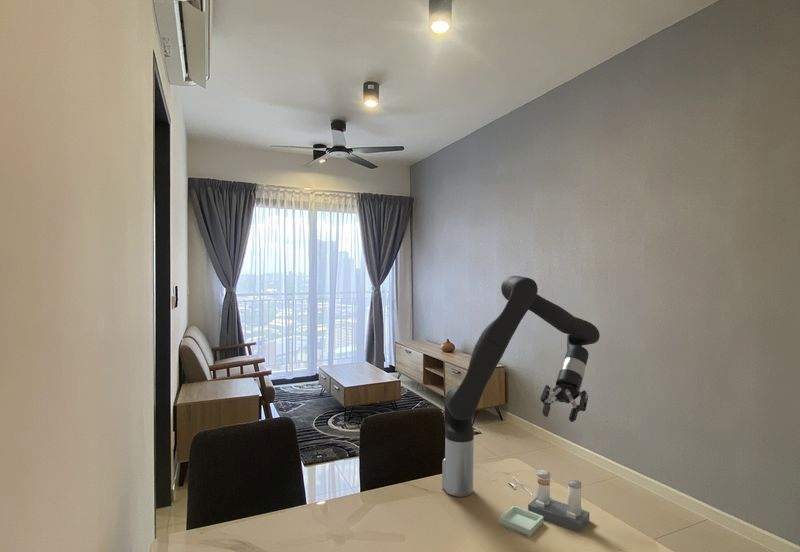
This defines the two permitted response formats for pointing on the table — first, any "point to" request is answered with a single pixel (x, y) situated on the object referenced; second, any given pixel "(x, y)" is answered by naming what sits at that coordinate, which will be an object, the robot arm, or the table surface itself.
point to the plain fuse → (574, 497)
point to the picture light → (520, 484)
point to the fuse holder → (559, 514)
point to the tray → (521, 521)
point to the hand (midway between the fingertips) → (557, 418)
